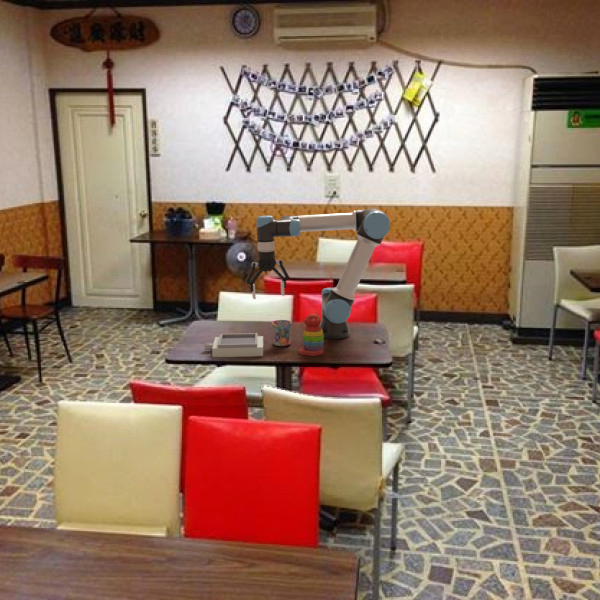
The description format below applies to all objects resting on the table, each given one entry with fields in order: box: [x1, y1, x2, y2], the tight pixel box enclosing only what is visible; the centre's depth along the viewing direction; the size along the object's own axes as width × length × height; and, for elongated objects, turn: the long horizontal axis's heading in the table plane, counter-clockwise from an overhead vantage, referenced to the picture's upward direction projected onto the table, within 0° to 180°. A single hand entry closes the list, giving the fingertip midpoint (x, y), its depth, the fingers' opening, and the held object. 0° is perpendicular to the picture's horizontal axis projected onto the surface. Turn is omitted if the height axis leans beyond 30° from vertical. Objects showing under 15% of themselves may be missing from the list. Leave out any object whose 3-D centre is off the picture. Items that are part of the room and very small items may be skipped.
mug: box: [271, 319, 293, 347], centre depth 308 cm, size 12×9×11 cm
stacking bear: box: [297, 312, 325, 356], centre depth 294 cm, size 11×10×18 cm
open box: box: [204, 332, 264, 358], centre depth 299 cm, size 26×17×6 cm, turn 93°
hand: (268, 296), depth 304 cm, fingers open, 13 cm apart
